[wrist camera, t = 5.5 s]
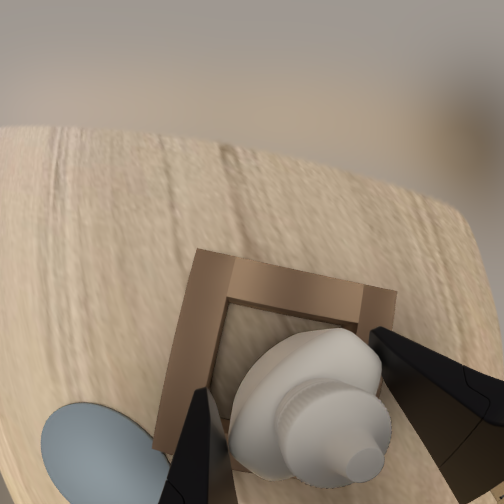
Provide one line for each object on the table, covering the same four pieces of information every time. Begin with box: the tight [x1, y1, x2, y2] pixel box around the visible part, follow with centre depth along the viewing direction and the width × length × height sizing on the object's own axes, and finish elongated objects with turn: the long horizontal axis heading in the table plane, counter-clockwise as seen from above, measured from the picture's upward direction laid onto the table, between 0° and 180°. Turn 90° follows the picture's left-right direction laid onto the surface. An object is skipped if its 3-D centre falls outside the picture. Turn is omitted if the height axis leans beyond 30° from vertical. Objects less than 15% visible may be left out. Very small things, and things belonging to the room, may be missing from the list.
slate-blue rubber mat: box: [41, 403, 170, 504], centre depth 15 cm, size 11×11×1 cm
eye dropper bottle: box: [228, 328, 392, 489], centre depth 10 cm, size 4×6×12 cm
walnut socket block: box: [152, 248, 397, 479], centre depth 17 cm, size 12×12×3 cm
